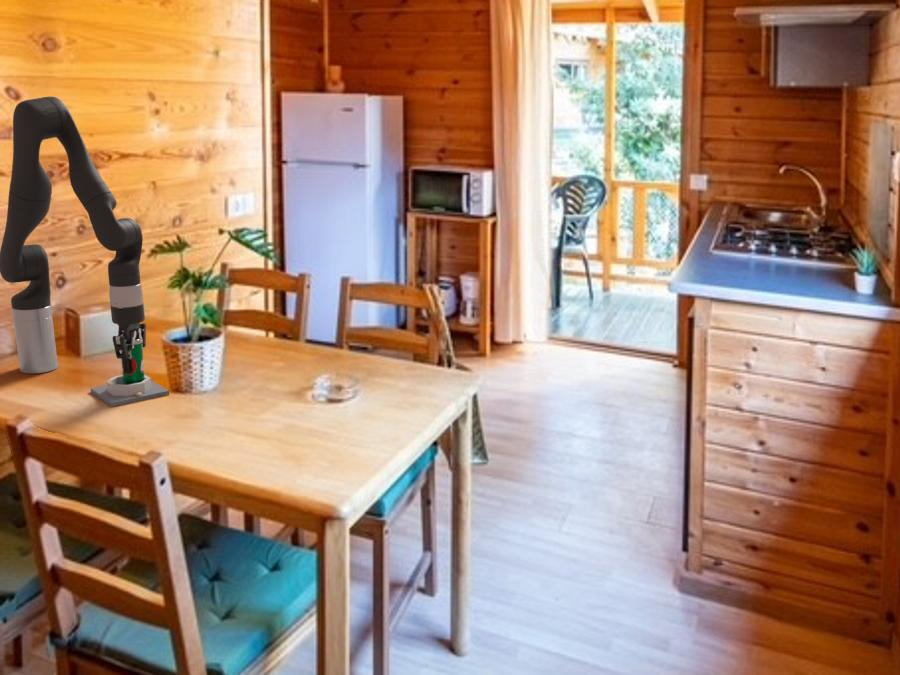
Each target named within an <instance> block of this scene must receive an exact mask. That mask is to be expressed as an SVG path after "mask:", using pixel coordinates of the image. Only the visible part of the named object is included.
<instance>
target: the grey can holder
mask: <svg viewBox="0 0 900 675" xmlns="http://www.w3.org/2000/svg"><path fill="white" fill-rule="evenodd" d="M144 376H145V379H144V380H143V381H142V382H139V383H134V384H129V385H123V376H122V374H120V375H116V376H113V377H111V378H109V379H108V380H107V381H106V384H105V385H101V386H100V385H99V386H95V387H90V393H92V394H93V395H95V396H96V397H97V398H99V399H100V400H102V401H103V402H104V403H106V404H107V405H108V406H110V407H111V408H113V407H117V406H122V405H128V404H132V403H137V402H141V401H146V400H149V399H155V398H159V397H164V396H168V395H170V392H169V390H168V389H166V388H165V387H163V386H161V385H160V384H158V383H156V382H155V381H153V380H151V377H150V376H148V375H147V374H145V373H144Z"/></svg>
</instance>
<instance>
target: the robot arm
mask: <svg viewBox="0 0 900 675" xmlns="http://www.w3.org/2000/svg"><path fill="white" fill-rule="evenodd" d="M12 116H13V117H12V142H13V144H12V147H13V149H12V151H13V152H12V165H11V166H12V168H11V176H10V182H9V183H10V184H9V191H8V199H7V200H8V201H7V202H8V203H7V213H6V223H5V228H4V233H3V237H2V242H1V246H0V275H1V278H2V279H3V280H4V281H5V282H6V283H12V284H13V283H15V284H16V283H24V282H29V284H28V285H27V287H25V288H24V289H23V290H21V291H20V292H18V293H16V294H14V295H13V296H12V297H11V299H10V305H11V311H12V318H13V326H14V334H15V341H16V348H17V349H16V350H17V355H18V356H17V358H18V366H19V372H20V373H23V374H32V375H33V374H43V373H47V372H51V371H54V370H57V369H58V367H59V366H58V365H59V364H58V356H57V348H56V346H57V345H56V339H55V338H56V337H55V330H54V322H53V313H52V305H51V304H52V303H51V296H52V295H51V294H52V292H51V281H50V264H49V257H48V255H47V252H46V250H45V248H44V247H43V246H42V245H40V244H25V242H26V240H27V239H28V237H29V236H30V235H31V234H32V232H33V231H34V230H35V229H36V228H37V227H38V226H39V225H40V223H42V222H43V220H45V218H46V217H47V215H48V213H49V211H50V207H51V199H52V192H53V187H52V186H53V185H52V182H51V180H50V177H49V175H48V174H47V171H45V169H44V168H43V166H42V164H41V161H40V152H41V151H40V150H41V146H42V145H41V144H42V142H43V141H44V140H49V139H54V138H56V139H57V140H58V141H59V142H60V144H61V146H62V147H63V149H64V150H65V153H66V155H67V161H68V174H69V176H68V177H69V182H70V186H71V189H72V190H73V193H74V194H75V196H76V197H77V198H78V201H79V202H80V204H81V205H82V207H83V208H84V209H85V211H86V212H87V214H88V217H89V222H90V224H91V226H92V229H93V232H94V234H95V237H96V239H97V240H98V242H99V244H101V246H102V247H103V248H104V249H106V250H108V251H110V252H111V251H112V252H115V255H114V258H113V259H112V260H111V261H110V262H108V265H107V274H108V282H109V283H108V285H109V290H108V291H109V292H108V295H109V305H110V314H111V322H112V323H113V324H115V325H117V326H118V331H117V332H118V333H117V335H112V342H113V348H114V351H115V356H116V359H118V360H119V359H120V360H121V359H122V362H121V365H122V364H123V373H124V374H132V373H133V362H132V350H133V349H134V347H135V339H137V338H138V339H139V338H140V340H141V342H142V345H143V348H146V343H147V337H146V336H147V333H146V332H147V325H146V323H142V322H144V321H145V319H146V315H145V306H144V294H143V293H144V292H143V289H142V284H141V272H140V262H141V258H142V257H141V256H142V248H143V233H142V229H141V226H140V225H139V223H138V222H137V221H136V220H135V219H132V218H129V217H122V218H118V219H117V218H116V216H115V214H114V210H115V209H116V206H117V200H116V198H115V196H114V195H113V193H112V191H111V190H110V188H109V187H108V186H107V184H106V182H105V181H104V179H103V178H102V177H101V175H100V173H99V171H98V170H97V167H96V166H95V164H94V162H93V160H92V158H91V156H90V154H89V151H88V149H87V147H86V144H85V142H84V140H83V137H82V136H81V133H80V131H79V128H78V126H77V125H76V122H75V120H74V118H73V116H72V114H71V112H70V111H69V109H68V107H67V106H66V104H65V103H64V102H63V100H61V99H60V98H58V97H56V96H43V97H38V98H31V99H26V100H22V101H20V102H18V103H17V105H16V106H15V108H14V111H13V115H12ZM126 344H130V346H126ZM127 349H128V351H127Z"/></svg>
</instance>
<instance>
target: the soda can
mask: <svg viewBox="0 0 900 675" xmlns="http://www.w3.org/2000/svg"><path fill="white" fill-rule="evenodd" d="M126 346H130V344H126ZM127 351H128V349H127ZM120 360H121V372H122V373H121V375H122V376H123V385H129V384H134V383H139V382H142V381H143V380H144V379H145V376H144V374H145V366H144V365H145V364H144V347H143V345H142V342H141V340H140V338H139V339H138V338H137V339H135V347H134V349H133V350H132V362H133V373H132V374H124V373H123V364H122V359H120Z"/></svg>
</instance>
